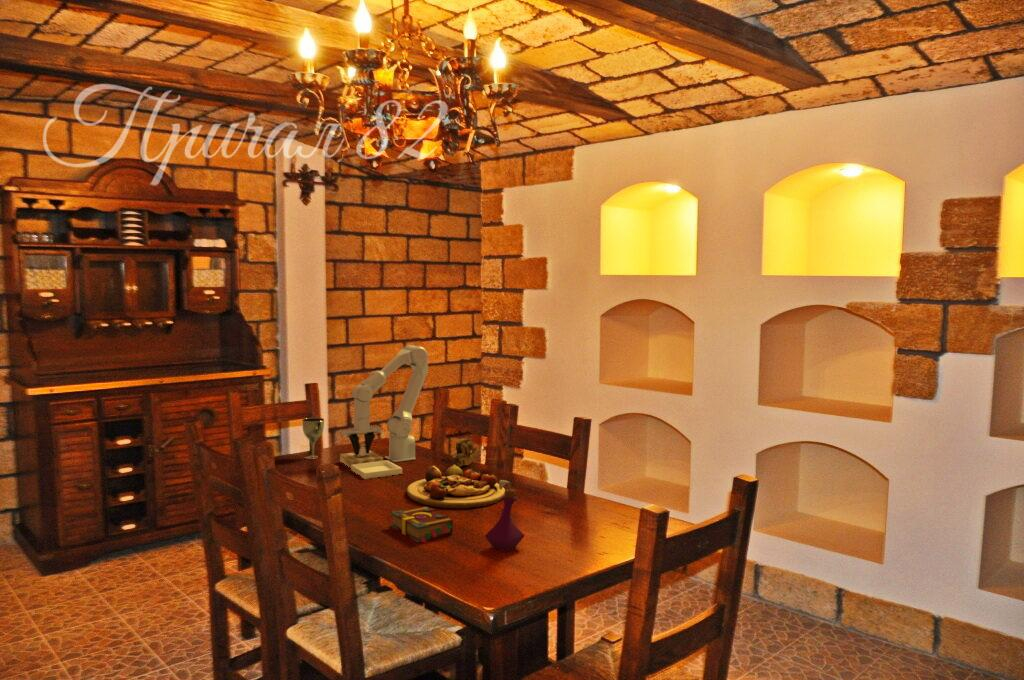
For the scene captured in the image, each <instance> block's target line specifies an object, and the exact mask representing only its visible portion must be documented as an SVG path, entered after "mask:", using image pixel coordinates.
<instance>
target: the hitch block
mask: <svg viewBox="0 0 1024 680" xmlns="http://www.w3.org/2000/svg"><path fill="white" fill-rule="evenodd" d="M377 461H384V457H383V456H381V455H379V454H377V453H375V452H374V451H372V450H369V453H367V457H363V458H357V455H356V454H354V452H348V453H340V454H339V462H340V463H341V462H342V463H344V464H345V465H344V464H343V465H344V466H346V465H347V466H348V467H347V466H346V467H347V468H349V467H350V468H351V465H353V464H361V463H369V462H377ZM342 463H341V464H342ZM350 468H349V469H350Z"/></svg>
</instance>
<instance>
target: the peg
mask: <svg viewBox="0 0 1024 680" xmlns="http://www.w3.org/2000/svg"><path fill="white" fill-rule="evenodd" d="M363 457H367V442H365V441H359V444H358V455H357V458H363Z"/></svg>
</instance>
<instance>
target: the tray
mask: <svg viewBox="0 0 1024 680" xmlns="http://www.w3.org/2000/svg"><path fill="white" fill-rule="evenodd" d="M351 470H352V471H353V472H352V471H351ZM350 471H351V472H352V473H354V472H355V473H356V475H357V474H358V475H360V476H361V477H360V476H359V477H360V478H361V479H363V478H364V480H371V479H370V478H372V479H379V478H378V477H380V478H386V476H387V477H393V476H392V475H394V476H400V475H399V474H402V475H403V467H401V466H399V465H397V464H395V463H394V462H392V461H390V460H388V459H387V460H383V461H377V462H369V463H361V464H353V465H351V469H350ZM355 473H354V474H355ZM358 475H357V476H358Z"/></svg>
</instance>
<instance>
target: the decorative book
mask: <svg viewBox="0 0 1024 680" xmlns="http://www.w3.org/2000/svg"><path fill="white" fill-rule="evenodd" d="M390 515H391V516H392V517H393V518H392V520H393V523H391V524H390V527H391V528H392V529H395V530H396V531H400V533H401V534H402V535H403V534H404V536H407V537H409V538H410V539H411V540H413V541H414V542H416V543H422V542H424V543H427V541H430V540H432V539H435V538H440V536H441V537H444V535H445V536H448V534H450V535H453V526H454V525H453V519H451V518H449V517H448V515H447V514H445V513H440V512H439V511H436V509H434V508H433V507H428V506H427V505H426V506H425V505H424V506H421V507H420V506H419V507H414V508H409V509H404V510H403V509H401V510H393V511H390Z"/></svg>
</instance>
